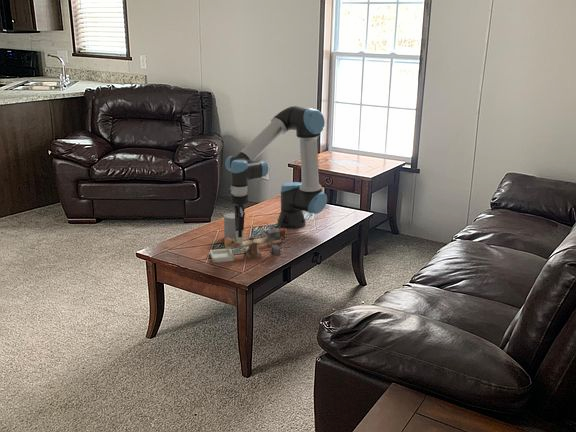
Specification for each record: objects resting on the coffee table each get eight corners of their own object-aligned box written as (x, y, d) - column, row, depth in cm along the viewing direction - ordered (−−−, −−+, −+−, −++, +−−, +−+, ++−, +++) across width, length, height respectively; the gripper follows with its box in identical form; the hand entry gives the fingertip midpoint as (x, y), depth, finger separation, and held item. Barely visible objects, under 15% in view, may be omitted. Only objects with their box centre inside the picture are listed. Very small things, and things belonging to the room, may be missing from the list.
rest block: (277, 249, 282) (277, 244, 281) (280, 254, 276) (280, 249, 276) (271, 250, 281) (271, 245, 280) (274, 254, 276) (274, 250, 275)
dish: (230, 252, 278) (230, 248, 278) (234, 260, 268) (234, 256, 268) (209, 254, 276) (209, 250, 275) (213, 262, 266) (213, 258, 265)
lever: (278, 237, 280) (277, 227, 278) (281, 242, 275) (280, 231, 273) (224, 245, 274) (223, 235, 272) (226, 249, 268) (225, 239, 267)
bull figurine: (259, 243, 290) (259, 227, 287) (284, 239, 295) (284, 224, 292) (262, 246, 286) (262, 230, 283) (287, 242, 291) (287, 227, 288)
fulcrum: (257, 250, 280) (257, 236, 278) (261, 257, 273) (261, 242, 270) (245, 251, 279) (244, 237, 277) (248, 258, 271) (248, 243, 269)
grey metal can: (240, 242, 290) (239, 219, 286) (221, 241, 292) (221, 217, 288) (245, 236, 299) (245, 213, 295) (227, 234, 301) (226, 211, 297)
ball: (232, 241, 273) (229, 235, 271) (234, 244, 270) (230, 237, 268) (226, 245, 273) (222, 239, 271) (227, 247, 269) (223, 241, 268)
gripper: (228, 190, 270) (229, 238, 277) (233, 198, 258) (234, 248, 265) (244, 189, 272) (244, 237, 279) (250, 197, 260) (250, 247, 267)
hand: (239, 242), depth 272 cm, fingers closed
